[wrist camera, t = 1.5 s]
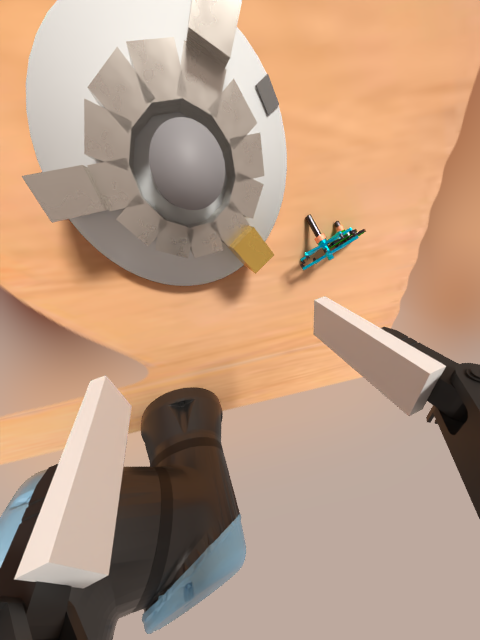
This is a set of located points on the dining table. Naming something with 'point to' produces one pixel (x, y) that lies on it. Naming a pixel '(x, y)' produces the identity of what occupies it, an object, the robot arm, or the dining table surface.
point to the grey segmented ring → (156, 99)
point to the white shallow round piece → (148, 132)
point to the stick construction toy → (329, 241)
